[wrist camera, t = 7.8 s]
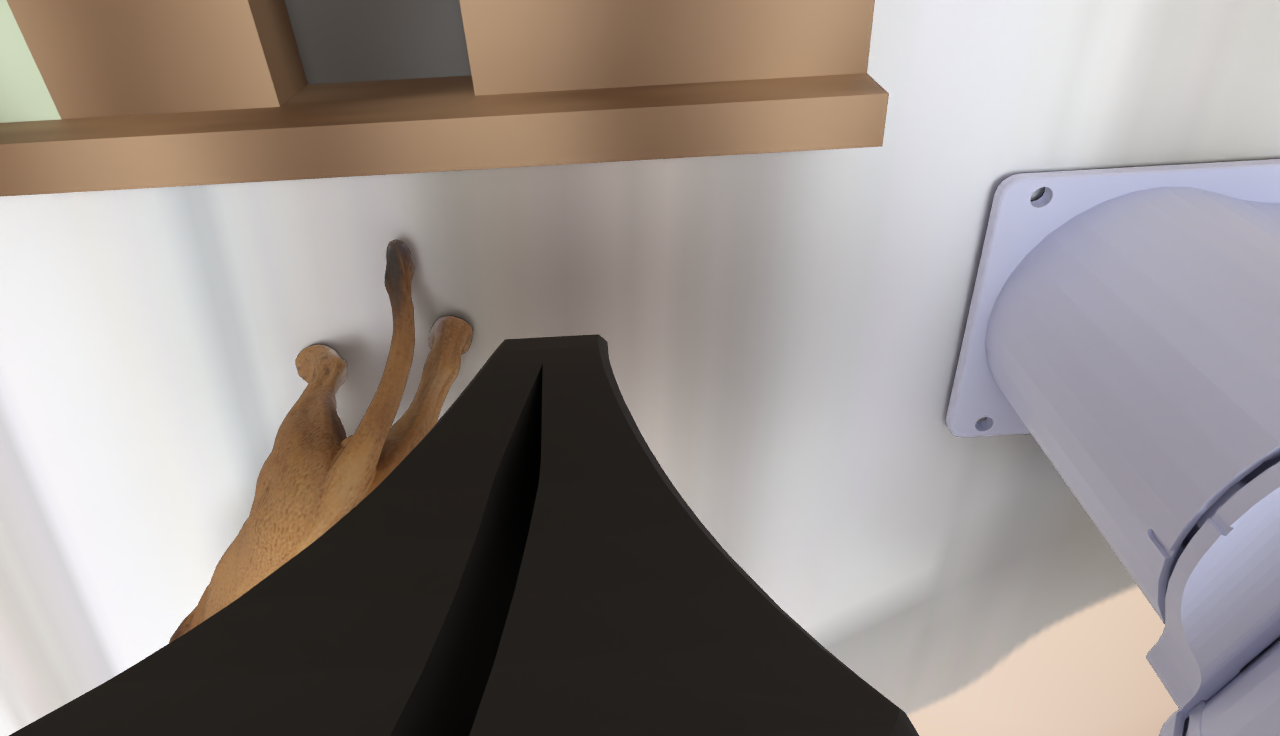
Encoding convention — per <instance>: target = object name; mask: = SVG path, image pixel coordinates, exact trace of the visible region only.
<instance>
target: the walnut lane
mask: <svg viewBox="0 0 1280 736" xmlns="http://www.w3.org/2000/svg"><path fill="white" fill-rule="evenodd" d="M874 3H875V0H0V196H15V195H33V194H50V193H68V192H86V191H103V190H121V189H138V188H156V187H174V186H191V185H209V184H226V183H244V182H262V181H279V180H297V179H315V178H332V177H350V176H367V175H385V174H403V173H420V172H438V171H455V170H473V169H491V168H508V167H526V166H543V165H561V164H579V163H596V162H614V161H632V160H649V159H667V158H684V157H702V156H720V155H737V154H755V153H772V152H790V151H808V150H825V149H843V148H861V147H878V146H882V144H883V136H884V128H885V120H886V112H887V104H888V96H889V93H888V92H887V91H886V90H884V89H883V88H882V87H881V86H880V85H879V84H878V83H877V82H876V81H875V80H874V79H873V78H871V77H870V76H869V75H868V74H867V66H868V57H869V48H870V39H871V30H872V21H873V12H874Z"/></svg>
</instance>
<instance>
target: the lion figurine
mask: <svg viewBox="0 0 1280 736" xmlns="http://www.w3.org/2000/svg"><path fill="white" fill-rule="evenodd" d="M386 259H387V266H386V272H385V287H386V290H387V292H388V294H389V298H390V302H391V306H392V313H393V336H392V341H391V346H390V351H389V355H388V358H387V362H386V366H385V369H384V372H383V375H382V378H381V381H380V384H379V386H378V389H377V391H376V393H375V395H374V398H373V400H372V402H371V404H370V406H369V408H368V410H367V411H366V413H365V415H364V417H363V419H362V421H361V423H360V424H359V426H358V428H357V430H356V432H355V434H354V435H353V436H349V437H347V438H346V433H345V430H344V427H343V425H342V423H341V420H340V418H339V417H338V415H337V412H336V399H335V394H336V393H337V391H338V389H339V387H340V386H341V385H342V384H343V383H344V382H345V380H346V377H347V363H346V361H344V360H343V359H342V358H341V357H340V356H339V355H338V354H337V353H336V351H335V350H333V349H332V348H330V347H328V346H325V345H311V346H309V347H307V348H305V349H303V350H302V351H301V352H300V353H299V355H298V356H297V358H296V367H297V370H298V374H299V376H300V377H302V378H303V379H304V380H305V381H306V382H307V383H308V386H307V387H306V389H305V390H304V392H303V393H302V395H301V396H300V398H299V399H298V401H297V402H296V403H295V404H294V406H293V407H292V409H291V410H290V412H289V413H288V414H287V416H286V417H285V419H284V421H283V422H282V424H281V426H280V428H279V430H278V433H277V436H276V438H275V442H274V447H273V450H272V452H271V454H270V455H269V457H268V458H267V460H266V461H265V463H264V465H263V467H262V469H261V471H260V474H259V477H258V480H257V485H256V492H255V498H254V502H253V505H252V508H251V512H250V516H249V517H248V519H247V520H246V522H245V523H244V525H243V527H242V529H241V530H240V532H239V534H238V535H237V537H236V538H235V540H234V541H233V543H232V544H231V545H230V546H229V548H228V549H227V550H226V552H225V553H224V555H223V556H222V558H221V559H220V561H219V563H218V565H217V566H216V569H215V571H214V574H213V576H212V579H211V582H210V584H209V585H208V586H207V588H206V590H205V591H204V593H203V595H202V597H201V599H200V601H199V603H198V606H197V607H196V608H195V609H194V610H193V611H192V612H191V613H190V614H189V615H188V616H187V617H186V618H185V619H184V620H183V622H182V623H181V624H180V626H179V627H178V629H177V630H176V631H175V633H174V634H173V636H172V637H171V639H170V642H169V643H171V642H172V641H174V640H176V639H177V638H179V637H180V636H182V635H184V634H185V633H187V632H188V631H190V630H191V629H193V628H194V627H196V626H197V625H199V624H200V623H202V622H203V621H205V620H206V619H208V618H209V617H211V616H213V615H214V614H216V613H217V612H219V611H220V610H222V609H223V608H225V607H226V606H228V605H229V604H230V603H232V602H233V601H235V600H236V599H238V598H239V597H241V596H242V595H243V594H245V593H246V592H247V591H249V590H250V589H251V588H253V587H254V586H255V585H257V584H258V583H259V582H261V581H262V580H263V579H265V578H266V577H267V576H269V575H270V574H271V573H273V572H274V571H275V570H277V569H278V568H280V567H281V566H282V565H284V564H285V563H286V562H288V561H289V560H290V559H292V558H293V557H294V556H296V555H297V554H298V553H300V552H301V551H302V550H304V549H305V548H306V547H308V546H309V545H310V544H312V543H313V542H314V541H315V540H317V539H318V538H319V537H320V536H321V535H323V534H324V533H325V532H326V531H327V530H329V529H330V528H331V527H332V526H333V525H334V524H336V523H337V522H338V521H339V520H340V519H341V518H343V517H344V516H345V515H346V514H347V513H348V512H350V511H351V510H352V509H353V508H354V507H355V506H357V505H358V504H359V503H360V502H361V501H362V500H363V499H364V498H365V497H366V496H368V495H369V494H370V493H371V492H372V491H373V490H374V489H375V488H376V487H377V486H378V485H379V484H380V483H381V482H382V481H383V480H384V479H385V478H386V477H387V476H388V475H389V474H390V473H391V472H392V471H393V470H394V469H395V468H396V467H397V466H398V464H399V463H400V462H401V461H402V460H403V459H404V458H405V457H406V456H407V455H408V454H409V453H410V452H411V451H412V450H413V449H414V448H415V447H416V446H417V445H418V444H419V443H420V441H421V440H422V439H423V438H424V437H425V436H426V435H427V434H428V433H429V431H430V430H431V429H432V428H433V427H434V425H435V424H436V423H437V421H438V417H439V414H440V411H441V408H442V405H443V402H444V400H445V398H446V395H447V393H448V390H449V388H450V386H451V384H452V383H453V381H454V380H455V378H456V377H457V375H458V372H459V369H460V362H461V355H462V354H464V353H465V352H466V351H468V349H469V347H470V345H471V341H472V335H473V333H472V328H471V326H470V325H469V324H468V323H467V322H465V321H464V320H462V319H459V318H456V317H453V316H445V317H441V318H439V319H438V320H437V321H436V322H435V324H434V325H433V327H432V328H431V331H430V333H429V338H428V344H429V347H430V348H431V351H430V353H429V355H428V358H427V360H426V363H425V365H424V369H423V373H422V377H421V381H420V385H419V387H418V390H417V392H416V395H415V397H414V400H413V402H412V403H411V405H410V407H409V408H408V409H407V411H406V412H405V413H404V415H403V416H402V417H401V418H400V419H399V420H398V421H397V422H396V423H395V424H394V425H393V426H392V427H391V425H392V423H393V420H394V418H395V415H396V413H397V410H398V407H399V404H400V401H401V398H402V395H403V392H404V388H405V385H406V382H407V378H408V374H409V371H410V367H411V364H412V360H413V353H414V345H415V326H414V307H413V303H412V297H411V282H412V278H413V274H414V270H415V266H414V264H413V263H412V261H411V256H410V250H409V248H408V247H407V245H406V244H405V243H404V242H402V241H399V240H392V241H390V242H389V244H388V247H387V253H386Z"/></svg>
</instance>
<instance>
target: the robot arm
mask: <svg viewBox="0 0 1280 736" xmlns="http://www.w3.org/2000/svg"><path fill="white" fill-rule="evenodd" d="M1042 187H1045V192H1044V194H1043V196H1042V197H1041V198H1039V199H1038V200H1036V201H1032V202H1031V199H1030V198H1031V196H1032V194H1033V192H1035V191H1036V190H1037V189H1038V188H1042ZM984 417H987V418H986V419H985V420H984V421H983V422H979V423H976V422H977V421H978V420H979V419H981V418H984ZM946 424H947V426H948V428H949V430H950V431H951V433H952V434H953V435H955V436H957V437H978V436H997V435H1015V434H1032V436H1033V437H1034V438H1035V440H1036V441H1037V443H1038V444H1039V446H1040V447H1041V448H1042V450H1043V451H1044V453H1045V454H1046V456H1047V457H1048V458H1049V460H1050V461H1051V463H1052V464H1053V466H1054V467H1055V468H1056V470H1057V471H1058V473H1059V474H1060V476H1061V477H1062V478H1063V480H1064V481H1065V483H1066V484H1067V486H1068V487H1069V488H1070V490H1071V491H1072V493H1073V494H1074V496H1075V497H1076V498H1077V500H1078V501H1079V503H1080V504H1081V506H1082V507H1083V508H1084V510H1085V511H1086V513H1087V514H1088V516H1089V517H1090V518H1091V520H1092V521H1093V523H1094V524H1095V526H1096V527H1097V528H1098V530H1099V531H1100V533H1101V534H1102V536H1103V537H1104V538H1105V540H1106V541H1107V543H1108V544H1109V546H1110V547H1111V548H1112V550H1113V551H1114V553H1115V554H1116V555H1117V557H1118V558H1119V560H1120V561H1121V563H1122V564H1123V565H1124V567H1125V568H1126V570H1127V571H1128V573H1129V574H1130V575H1131V577H1132V578H1133V580H1134V581H1135V583H1136V584H1137V585H1138V587H1139V588H1140V590H1141V591H1142V593H1143V594H1144V595H1145V597H1146V598H1147V600H1148V601H1149V603H1150V604H1151V605H1152V607H1153V608H1154V610H1155V611H1156V612H1157V614H1158V615H1159V617H1160V618H1161V620H1162V621H1163V623H1164V624H1165V628H1164V631H1163V634H1162V635H1161V637H1160V639H1159V640H1158V642H1157V643H1156V644H1155V645H1154V646H1153V648H1152V649H1151V650H1150V651H1149V652H1148V653H1147V655H1146V658H1147V660H1148V661H1149V663H1150V665H1151V666H1152V668H1153V669H1154V671H1155V672H1156V673H1157V675H1158V677H1159V678H1160V680H1161V682H1162V683H1163V684H1164V686H1165V688H1166V689H1167V691H1168V692H1169V694H1170V695H1171V697H1172V698H1173V700H1174V701H1175V703H1176V705H1177V706H1178V708H1179V710H1177V711H1176V712H1174V713H1173V714H1172V715H1171V716H1170V717H1169V719H1168V720H1167V721H1166V722H1165V723H1164V724H1163V726H1162V728H1161V731H1160V733H1159V736H1280V159H1268V160H1251V161H1233V162H1215V163H1198V164H1180V165H1162V166H1144V167H1127V168H1109V169H1091V170H1074V171H1056V172H1038V173H1021V174H1015V175H1011V176H1010V177H1008V178H1006V179H1005V180H1003V181H1002V182H1001V184H1000V185H999V186H998V187H997V190H996V192H995V194H994V199H993V204H992V208H991V213H990V218H989V222H988V227H987V231H986V236H985V241H984V245H983V250H982V255H981V259H980V264H979V268H978V273H977V278H976V282H975V287H974V292H973V296H972V301H971V305H970V310H969V315H968V319H967V324H966V329H965V333H964V338H963V342H962V347H961V352H960V356H959V361H958V366H957V370H956V375H955V379H954V384H953V389H952V393H951V398H950V403H949V407H948V412H947V416H946ZM9 736H919V735H918V733H917V731H916V730H915V728H914V726H913V725H912V723H911V721H910V720H909V718H908V717H907V715H906V713H905V712H904V711H903V710H901V709H900V708H899V707H897V706H896V705H895V704H893V703H892V702H891V701H890V700H888V699H887V698H886V697H884V696H883V695H882V694H881V693H879V692H878V691H877V690H876V689H874V688H873V687H872V686H870V685H869V684H868V683H867V682H865V681H864V680H863V679H861V678H860V677H859V676H858V675H857V674H855V673H854V672H853V671H852V670H851V669H849V668H848V667H847V666H846V665H845V664H843V663H842V662H841V661H840V660H839V659H837V658H836V657H835V656H834V655H833V654H831V653H830V652H829V651H828V650H827V649H825V648H824V647H823V646H822V645H821V644H820V643H819V642H817V641H816V640H815V639H814V638H813V637H812V636H811V635H810V634H809V633H807V632H806V631H805V630H804V629H803V628H802V627H801V626H800V625H799V624H798V623H796V622H795V621H794V620H793V619H792V618H791V617H790V616H789V615H788V614H786V613H785V612H784V611H783V610H782V609H781V608H780V607H779V606H778V605H777V604H776V603H775V602H774V601H773V600H772V599H771V598H770V597H769V596H768V595H767V594H766V593H765V592H764V591H763V590H762V589H761V588H760V586H759V585H758V584H757V583H756V582H755V581H754V580H753V579H752V578H751V577H750V576H749V575H748V574H747V573H746V572H745V571H744V570H743V569H742V568H741V567H740V566H739V565H738V564H737V563H736V562H735V561H734V560H733V559H732V558H731V557H730V556H729V555H728V553H727V552H726V551H725V550H724V549H723V548H722V547H721V545H720V544H719V543H718V542H717V541H716V539H715V538H714V537H713V536H712V535H711V534H710V532H709V531H708V530H707V529H706V528H705V526H704V525H703V524H702V523H701V522H700V520H699V519H698V518H697V516H696V515H695V514H694V512H693V511H692V510H691V509H690V507H689V506H688V505H687V503H686V502H685V501H684V500H683V498H682V497H681V495H680V494H679V493H678V491H677V490H676V488H675V487H674V486H673V484H672V483H671V481H670V480H669V478H668V477H667V475H666V474H665V472H664V471H663V469H662V468H661V466H660V464H659V463H658V461H657V460H656V458H655V456H654V455H653V453H652V452H651V450H650V448H649V447H648V445H647V443H646V442H645V440H644V438H643V436H642V435H641V433H640V431H639V429H638V427H637V425H636V423H635V421H634V419H633V417H632V415H631V413H630V411H629V409H628V407H627V405H626V403H625V401H624V399H623V397H622V395H621V392H620V390H619V387H618V385H617V382H616V380H615V377H614V374H613V371H612V368H611V365H610V361H609V355H608V343H607V341H606V340H604V339H603V338H602V337H601V336H600V335H598V334H597V335H579V336H561V337H543V338H525V339H507V340H504V341H503V342H502V343H501V345H500V346H499V347H498V348H497V349H496V350H495V352H494V353H493V354H492V355H491V357H490V358H489V359H488V360H487V362H486V363H485V364H484V366H483V367H482V368H481V369H480V371H479V372H478V373H477V375H476V376H475V377H474V378H473V380H472V381H471V382H470V383H469V385H468V386H467V387H466V388H465V390H464V391H463V392H462V393H461V395H460V396H459V397H458V398H457V400H456V401H455V402H454V403H453V404H452V406H451V407H450V408H449V409H448V410H447V411H446V413H445V414H444V415H443V416H442V417H441V418H440V420H439V421H438V422H437V423H436V424H435V425H434V427H433V428H432V429H431V430H430V431H429V433H428V434H427V435H426V436H425V437H424V438H423V439H422V440H421V441H420V443H419V444H418V445H417V446H416V447H415V448H414V449H413V450H412V451H411V452H410V453H409V454H408V455H407V456H406V457H405V458H404V459H403V460H402V461H401V462H400V463H399V464H398V466H397V467H396V468H395V469H394V470H393V471H392V472H391V473H390V474H389V475H388V476H387V477H386V478H385V479H384V480H383V481H382V482H381V483H380V484H379V485H378V486H377V487H376V488H375V489H374V490H373V491H372V492H371V493H370V494H369V495H368V496H366V497H365V498H364V499H363V500H362V501H361V502H360V503H359V504H358V505H357V506H355V507H354V508H353V509H352V510H351V511H350V512H348V513H347V514H346V515H345V516H344V517H343V518H341V519H340V520H339V521H338V522H337V523H336V524H334V525H333V526H332V527H331V528H330V529H329V530H327V531H326V532H325V533H324V534H323V535H321V536H320V537H319V538H318V539H317V540H315V541H314V542H313V543H312V544H310V545H309V546H308V547H306V548H305V549H304V550H302V551H301V552H300V553H298V554H297V555H296V556H294V557H293V558H292V559H290V560H289V561H288V562H286V563H285V564H284V565H282V566H281V567H280V568H278V569H277V570H275V571H274V572H273V573H271V574H270V575H269V576H267V577H266V578H265V579H263V580H262V581H261V582H259V583H258V584H257V585H255V586H254V587H253V588H251V589H250V590H249V591H247V592H246V593H245V594H243V595H242V596H241V597H239V598H238V599H236V600H235V601H233V602H232V603H230V604H229V605H228V606H226V607H225V608H223V609H222V610H220V611H219V612H217V613H216V614H214V615H213V616H211V617H209V618H208V619H206V620H205V621H203V622H202V623H200V624H199V625H197V626H196V627H194V628H193V629H191V630H190V631H188V632H187V633H185V634H184V635H182V636H180V637H179V638H177V639H176V640H174V641H172V642H171V643H169V644H168V645H166V646H164V647H163V648H161V649H160V650H158V651H156V652H155V653H153V654H152V655H150V656H148V657H147V658H145V659H144V660H142V661H140V662H139V663H137V664H135V665H134V666H132V667H130V668H129V669H127V670H125V671H124V672H122V673H120V674H119V675H117V676H115V677H113V678H112V679H110V680H108V681H107V682H105V683H103V684H102V685H100V686H98V687H96V688H94V689H92V690H91V691H89V692H87V693H85V694H83V695H82V696H80V697H78V698H76V699H74V700H73V701H71V702H69V703H67V704H65V705H64V706H62V707H60V708H58V709H56V710H54V711H53V712H51V713H49V714H47V715H45V716H44V717H42V718H40V719H38V720H36V721H35V722H33V723H31V724H29V725H27V726H25V727H24V728H22V729H20V730H18V731H16V732H15V733H13V734H11V735H9Z"/></svg>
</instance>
